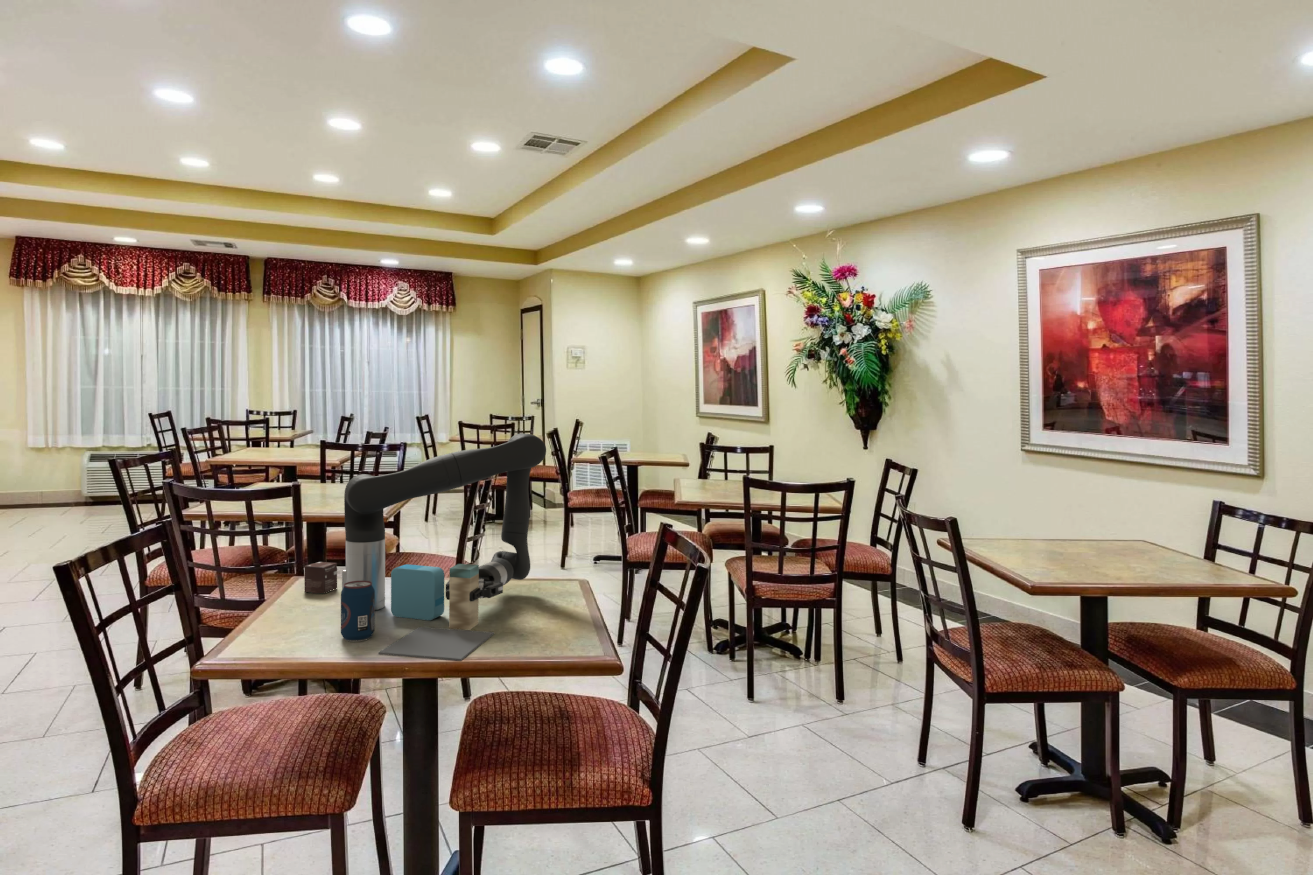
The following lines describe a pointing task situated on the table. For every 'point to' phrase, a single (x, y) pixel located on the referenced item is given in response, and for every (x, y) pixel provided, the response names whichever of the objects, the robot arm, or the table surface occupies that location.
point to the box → (320, 577)
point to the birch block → (463, 596)
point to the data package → (417, 592)
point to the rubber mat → (438, 643)
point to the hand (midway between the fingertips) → (459, 596)
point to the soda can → (357, 610)
